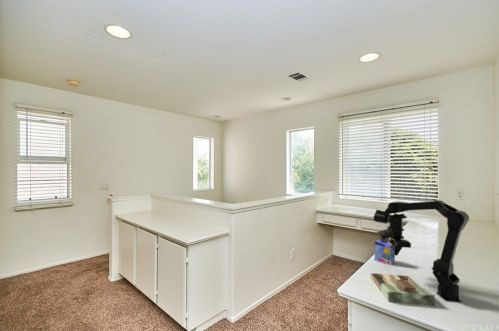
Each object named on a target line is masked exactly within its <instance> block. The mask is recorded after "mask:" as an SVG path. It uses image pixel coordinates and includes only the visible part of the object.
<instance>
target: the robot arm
mask: <svg viewBox="0 0 499 331" xmlns="http://www.w3.org/2000/svg"><path fill="white" fill-rule="evenodd" d="M427 210H436V211H437V212H438V213H439V214H440V215H441V216H442V217H444V218H446V219H447V220H446V224H447V225H446V226H447V233H446V237H445V240H444V243H443V244H444V245H443V248H442V251H441V255H440V258H437V259H436V260H434V261H433V263H432V268H431V270H432V275H433V276H434V277H435V278H436V281H437V283H438V284H437V291H436V295H438V296H439V297H440V298H442V299H443V300H444V301H446V302H456V303H457V302H459V303H462V300H461V299H460V290H459V289H460V286H459V285H458V284H459V283H460V281H461V279H460V278H459V276H458V275H457V274H455V273H454V258H455V255H456V251H457V247H458V244H459V240H460V236H461V233H462V231H463V230H464V229H465V227H466V225H467V224H468V223H469V220H470V216H469V215H468V214H467V213H466V211H463V210H458V208H456V207H454V206H451V205H449V204H447V203H446V202H445V201H442V200H441V199H440V200H433V201H432V200H431V201H417V202H407V201H397V200H396V201H392V202H389V203H388V205H387V208H386V209H385V210H382V209H376V210H375V212H374V215H373V221H374V222H376V223H380V224H387V225H388V223H389V225H388V226H387V228H386V229H383V230H382V229H381V230H378V231H377V232H376V233H377V235H378V238H379V239H380V240H381V239H382V240H383V241H386V240H385V239H387V242H390V243H391V245H392V249H393V252H394V255H395V256H398V255H399V254H400V252H401V250H402V248H409V249H411V247H412V243H411V242H410V241H408V239H405V236H403V232H404V231H405V228H403V219H407V218H408V217H407V215H405V214H404V213H402V212H407V211H427ZM399 213H400V214H399Z"/></svg>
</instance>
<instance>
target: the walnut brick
mask: <svg viewBox="0 0 499 331" xmlns="http://www.w3.org/2000/svg"><path fill="white" fill-rule="evenodd" d="M396 287H397V288H398V289H399V290H400V291H401V292H413V293H415V287H414V286H413V285H412V284H411V283H410V282H408V281H407V280H398V279H396Z"/></svg>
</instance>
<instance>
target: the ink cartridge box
mask: <svg viewBox="0 0 499 331" xmlns="http://www.w3.org/2000/svg"><path fill="white" fill-rule="evenodd" d="M387 240H388V238H387V239H385V240H382V239H381V238H380V239H376V240H375V241H374V261H377V262H380V263H383V264H386V265H390V266H393V265H394V264H396V260H395V259H396V258H395V255H394V252H393V249H392V245H391V243H390V242H389V241H387Z"/></svg>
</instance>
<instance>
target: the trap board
mask: <svg viewBox="0 0 499 331" xmlns="http://www.w3.org/2000/svg"><path fill="white" fill-rule="evenodd" d="M370 279H371V281H372V282H373V283H374V285H375V286H376V287H377V288H378V290H379V291H380V292H381V293H382V295H383V297H384V298H385V299H386V300H387V302H389V303H398V304H399V303H400V304H407V305H409V304H411V305H419V306H420V305H422V306H432V307H435V306H436V294H434V293H431V291H429V289H427V288H426V287H424V286H420V285H419V284H418V283H416V281H414V280H413V279H412V278H411V277H410V276H409V275H402V274H401V275H400V274H388V273H376V272H375V273H372V272H371V273H370ZM396 279H398V280H407V281H408V282H410V283H411V284H412V285H413V286H414V287H415V293H413V292H401V291H400V290H399V289H398V288H397V287H396Z"/></svg>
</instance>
